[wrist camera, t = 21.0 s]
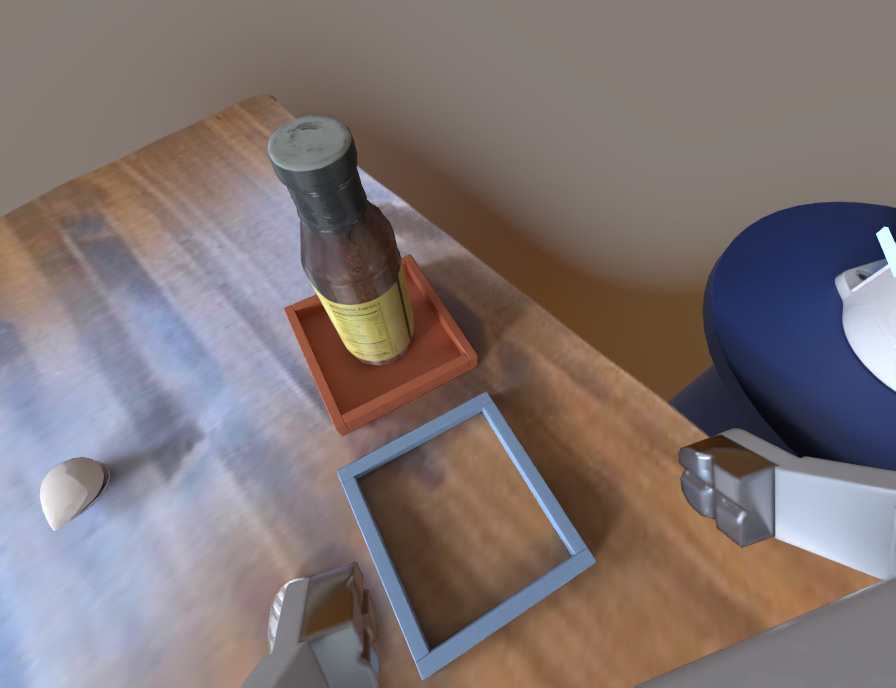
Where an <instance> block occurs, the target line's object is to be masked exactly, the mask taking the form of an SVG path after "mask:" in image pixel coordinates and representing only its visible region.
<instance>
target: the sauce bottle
mask: <svg viewBox="0 0 896 688" xmlns="http://www.w3.org/2000/svg"><path fill="white" fill-rule="evenodd" d="M267 153H268V157H269V159H270V161H271V163H272V166H273V168H274V171H275V173H276V175H277V176H278V179H279V180H280V181H281V182H282V183H283V184H284V185H285V186H286V187H287V189H288V191H289V193H290V195H291V198H292V199H293V201H294V203H295V205H296V208H297V213H298V216H299V218H300V233H301V262H302V266H303V269H304V272H305V274H306V276H307V278H308V280H309V281H310V283H311V285H312V287H313V289H314V290H315V292H316V294H317V296H318V297H319V299H320V301H321V303H322V304H323V306H324V308H325V310H326V312H327V314H328V315H329V317H330V319H331V321H332V323H333V325H334V327H335V328H336V330H337V332H338V334H339V335H340V337H341V339H342V341H343V343H344V345H345V346H346V348H347V349H348V350H349V351H350V352H351V353H352V354H353V355H354V356H355V357H356V358H358V359H359V360H360V361H361V362H363V363H365V364H371V365H386V364H392V363H395V362H396V361H397V360H399V359H400V358H402V357H403V355H404V354H406V353H407V351H408V350H409V349H410V347H411V346H412V344H413V340H414V317H413V313H412V308H411V303H410V298H409V294H408V289H407V284H406V279H405V274H404V270H403V265H402V260H401V256H400V252H399V250H398V248H397V244H396V240H395V234H394V231H393V229H392V226H391V224H390V222H389V221H388V220H387V219H386V217H385V216H384V215H383V214H382V212H381V211H380V209H379V208H378V207H376V206H375V205H373V204H371V203H370V202H369V201H368V200H367V197H366V193H365V191H364V189H363V187H362V185H361V180H360V177H359V174H358V170H357V151H356V147H355V144H354V140H353V137H352V134H351V132H350V130H349V128H348V127H347V126H346V125H345V124H344V123H343V122H342V121H340V120H338V119H336V118H333V117H330V116H325V115H309V116H306V117H300V118H297V119H295V120H293V121H291V122H288V123H286V124H284V125H283V126H281V127H280V128H278V129H277V130H276V131H275V132H274V133H273V134H272V136H271V138H270V139H269V143H268V152H267Z"/></svg>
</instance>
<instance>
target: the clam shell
mask: <svg viewBox="0 0 896 688" xmlns="http://www.w3.org/2000/svg"><path fill="white" fill-rule="evenodd" d="M109 482H110V471H109V470H108V468H107V467H106V465H104V464H103V463H101V462H99V461H94V460H93V459H89V458H85V457H80V458H72V459H70V460H67V461H64V462H62V463H60V464H58V465H56V466H55V467H54V468H53V469H52V470H50V471H49V472H48V473H47V474H46V476H45V478H44V480H43V481H42V484H41V489H40V501H41V504H42V508H43V511H44V514H45V516H46V518H47V520H48V522H49V524H50V526H51V529H53V530H57V529H59V528H60V527H62V526H63V525H65V524H67V523H68V522H70V521H71V520H73V519H74V518H76V517H77V516H79V515H80V514H82V513H83V512H84V511H86V510H87V509H88V508H89V507H91V506H92V505H93V504H94V503H95V502H96V501H97V500H98V499H99V498H100V497H101V496H102V495H103V493H104V492H105V491H106V489H107V487H108V484H109Z"/></svg>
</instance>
